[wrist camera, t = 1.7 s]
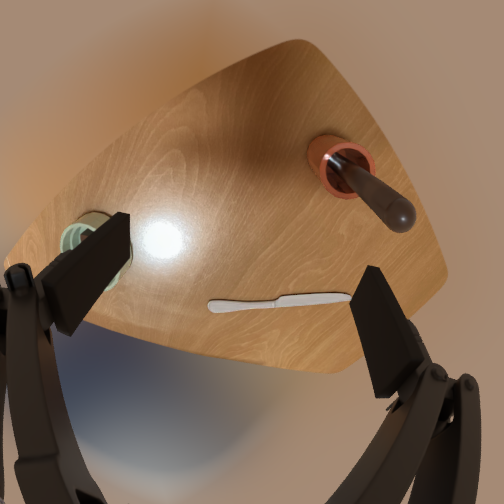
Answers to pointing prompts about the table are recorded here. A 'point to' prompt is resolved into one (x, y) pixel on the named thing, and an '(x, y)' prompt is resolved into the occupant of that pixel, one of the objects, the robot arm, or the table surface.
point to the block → (85, 234)
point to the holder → (331, 181)
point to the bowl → (72, 239)
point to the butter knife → (277, 302)
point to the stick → (375, 194)
